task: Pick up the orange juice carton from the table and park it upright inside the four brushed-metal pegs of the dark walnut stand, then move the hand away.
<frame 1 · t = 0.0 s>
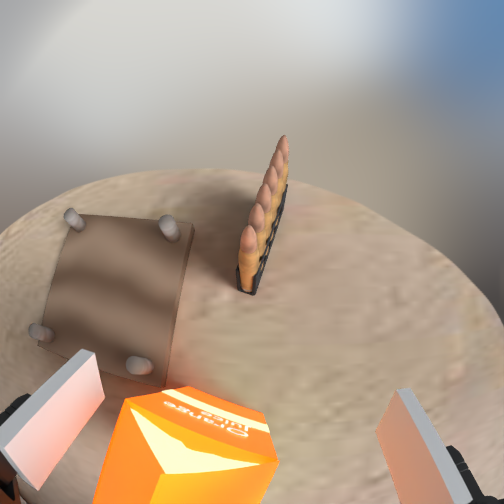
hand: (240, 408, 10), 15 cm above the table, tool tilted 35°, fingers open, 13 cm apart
orange juice: (210, 438, 22), on the table
peg stand: (111, 292, 28), on the table
ammunition clip: (261, 248, 30), on the table
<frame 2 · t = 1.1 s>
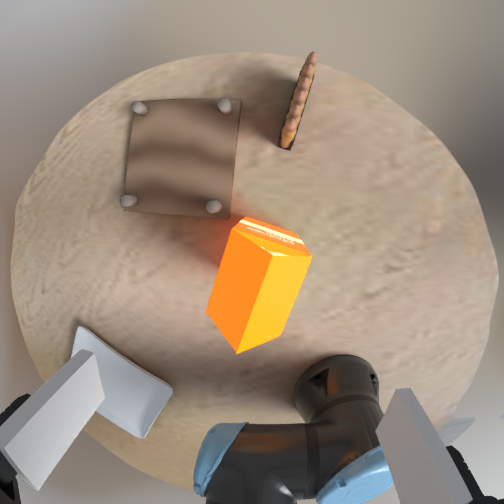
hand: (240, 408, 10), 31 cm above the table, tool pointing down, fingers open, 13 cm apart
orange juice: (261, 253, 40), on the table
salad plate: (117, 381, 48), on the table
peg stand: (180, 156, 38), on the table
ammunition clip: (294, 115, 36), on the table
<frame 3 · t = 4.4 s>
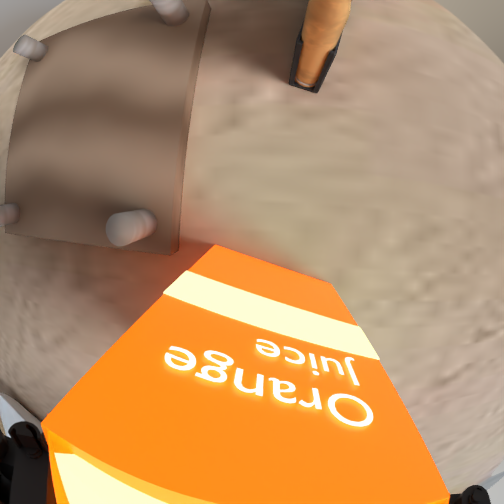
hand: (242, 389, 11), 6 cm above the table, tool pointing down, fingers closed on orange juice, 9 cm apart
orange juice: (252, 325, 18), on the table, touching gripper
salad plate: (62, 455, 26), on the table
peg stand: (87, 120, 15), on the table
ammunition clip: (321, 29, 14), on the table
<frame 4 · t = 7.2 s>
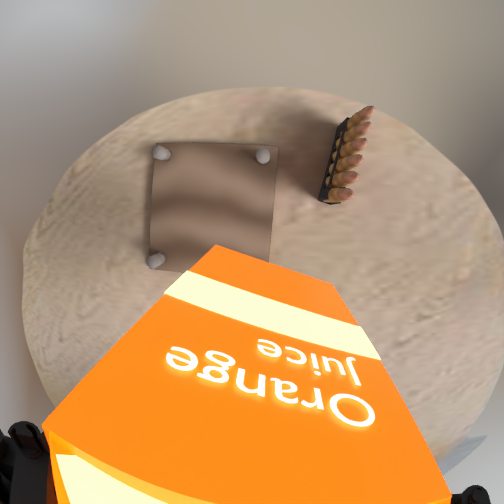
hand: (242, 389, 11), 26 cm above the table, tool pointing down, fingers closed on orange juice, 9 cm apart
orange juice: (252, 325, 18), point 20 cm above the table, touching gripper
peg stand: (211, 209, 36), on the table
ammunition clip: (334, 164, 34), on the table
when the fingers open (9 cm above the table, at t = 10.5 s): orange juice stays where it is, resting on peg stand.
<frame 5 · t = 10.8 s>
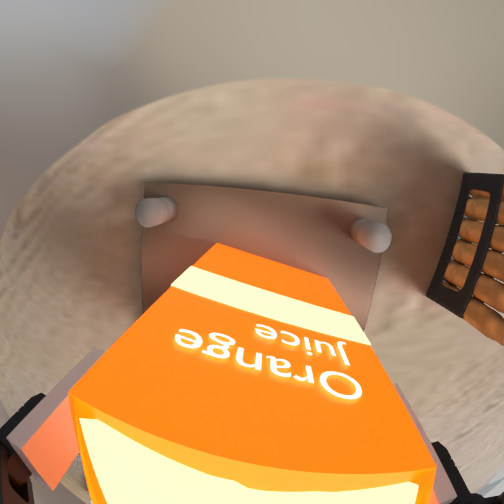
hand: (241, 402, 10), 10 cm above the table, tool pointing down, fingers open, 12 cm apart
orange juice: (253, 319, 19), point 1 cm above the table, touching peg stand
peg stand: (254, 311, 20), on the table
ammunition clip: (454, 237, 18), on the table
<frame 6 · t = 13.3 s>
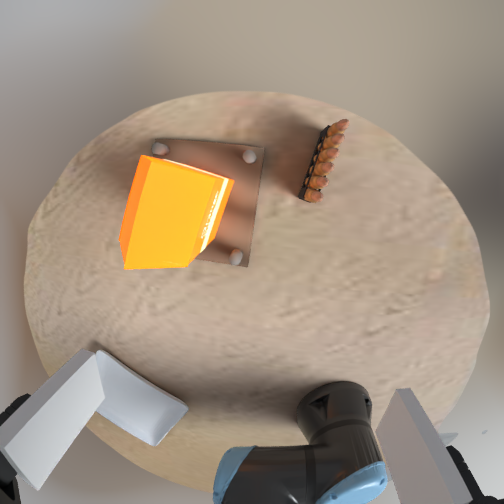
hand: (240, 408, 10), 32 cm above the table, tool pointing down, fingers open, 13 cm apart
orange juice: (200, 200, 39), point 1 cm above the table, touching peg stand
salad plate: (133, 396, 51), on the table
peg stand: (202, 200, 40), on the table
ammunition clip: (315, 165, 38), on the table
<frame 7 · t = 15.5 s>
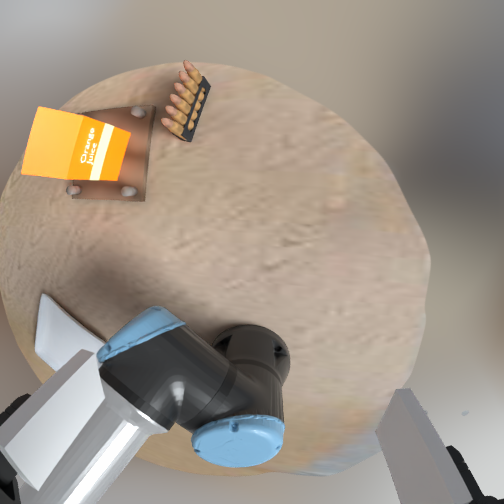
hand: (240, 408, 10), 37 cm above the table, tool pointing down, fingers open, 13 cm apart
orange juice: (108, 153, 43), point 1 cm above the table, touching peg stand
salad plate: (73, 344, 54), on the table
peg stand: (111, 153, 44), on the table
ammunition clip: (196, 112, 42), on the table
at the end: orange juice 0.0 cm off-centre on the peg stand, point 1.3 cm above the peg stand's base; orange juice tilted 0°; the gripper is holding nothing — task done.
